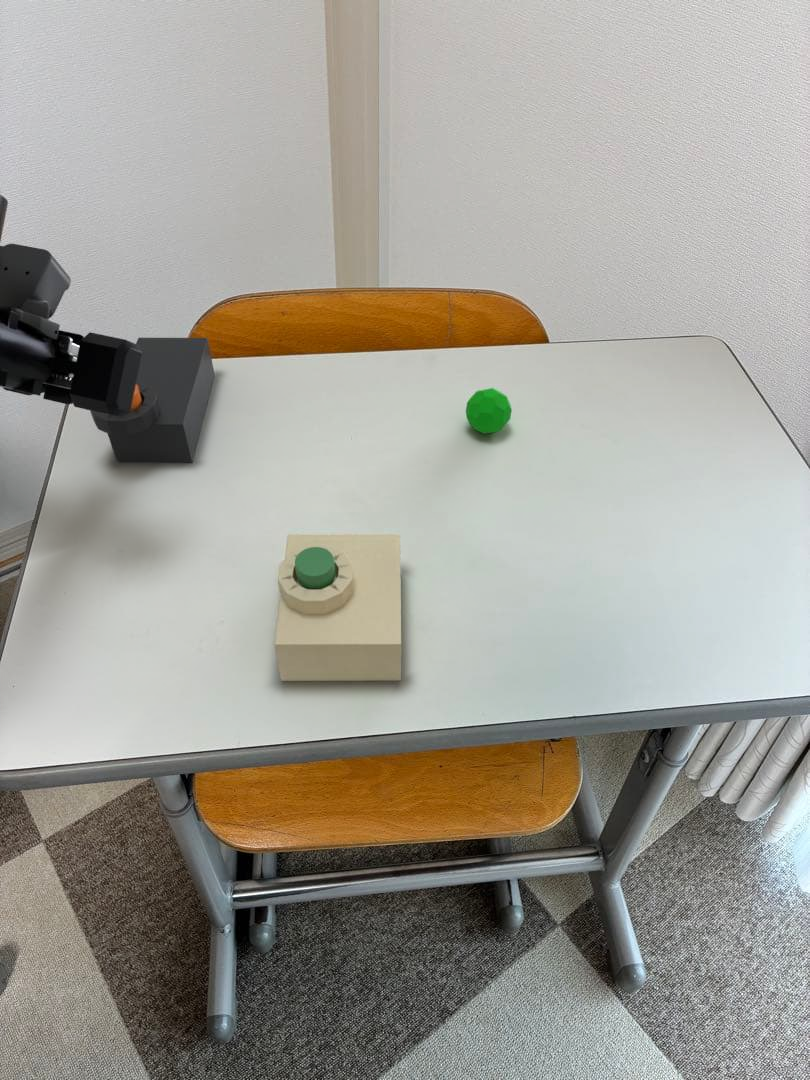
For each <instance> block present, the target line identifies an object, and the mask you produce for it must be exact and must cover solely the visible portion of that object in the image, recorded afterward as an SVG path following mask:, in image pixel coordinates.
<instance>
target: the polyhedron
mask: <svg viewBox="0 0 810 1080" xmlns="http://www.w3.org/2000/svg"><path fill="white" fill-rule="evenodd" d="M512 411H513V409H512V406H511V402H510V400H509V398H508V395H506V394H505V393H503V392H502V391H500V390H498V389H496V388H495V387H490V388H485V389H481V390H477V391H475V392H474V394H472V396H471V397H469V399H468V400H467V402H466V407H465V416H466V419H467V422H468V423H469V426H470V427H472V428H473V429H474V430H475V431H478V432H479V433H482V434H483V435H485V434H493V433H497V432H501V430H502V429H503V428H504V427H505V426H506V425H507V424H508V422H510V420H511V417H512Z"/></svg>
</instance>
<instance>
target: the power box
mask: <svg viewBox="0 0 810 1080" xmlns="http://www.w3.org/2000/svg"><path fill="white" fill-rule="evenodd" d="M286 537H287V538H286V544H285V545H286V546H285V553H284V554H285V555H284V559H283V560H282V562H280V564H279V566H278V575H277V583H278V589H279V594H280V596H279V604H278V611H277V619H276V626H275V627H276V629H275V636H274V650H275V655H276V660H277V661H276V662H277V667H278V670H279V671H278V672H279V677H280V681H281V682H288V681H289V682H319V681H321V682H325V681H326V682H327V681H330V682H331V681H333V682H336V681H338V682H339V681H342V682H344V681H353V682H354V681H357V682H358V681H359V682H360V681H361V682H362V681H363V682H364V681H371V682H372V681H401V679H402V586H401V585H402V582H401V578H402V577H401V535H400V534H287V536H286ZM311 547H321V548H324V549H327V550H328V551H330V552H331V554H332V555H333V557H334V561H335V578H334V580H333V582H332V583H331V584H330V585H328V586H327V587H325V588H322V589H308V588H305V587H303V586H302V585H301V584H300V583H299V582H298V580H297V576H296V569H295V559H296V557H297V555H298V554H299V553H300V552H301V551H303V550H305V549H307V548H311Z"/></svg>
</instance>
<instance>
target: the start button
mask: <svg viewBox="0 0 810 1080" xmlns="http://www.w3.org/2000/svg"><path fill="white" fill-rule="evenodd" d="M141 404H142V399H141V395H140V392H139V388H138V386H137V384H136V386H135V390H134V395H133V400H132V405H131V410H130V412H131V411H134V410H136V409H137V408H138V407H140V406H141Z"/></svg>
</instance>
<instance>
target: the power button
mask: <svg viewBox="0 0 810 1080" xmlns="http://www.w3.org/2000/svg"><path fill="white" fill-rule="evenodd" d="M295 569H296V576H297V580H298V582H299V583H300V584H301V585H302V586H303V587H305V588H308V589H322V588H325V587H327V586H328V585H330V584H331V583H332V582H333V580H334V578H335V561H334V557H333V555H332V554H331V552H330V551H328V550H327V549H324V548H321V547H311V548H307V549H305V550H303V551H301V552H300V553H299V554H298V555H297V557H296V559H295Z"/></svg>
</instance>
